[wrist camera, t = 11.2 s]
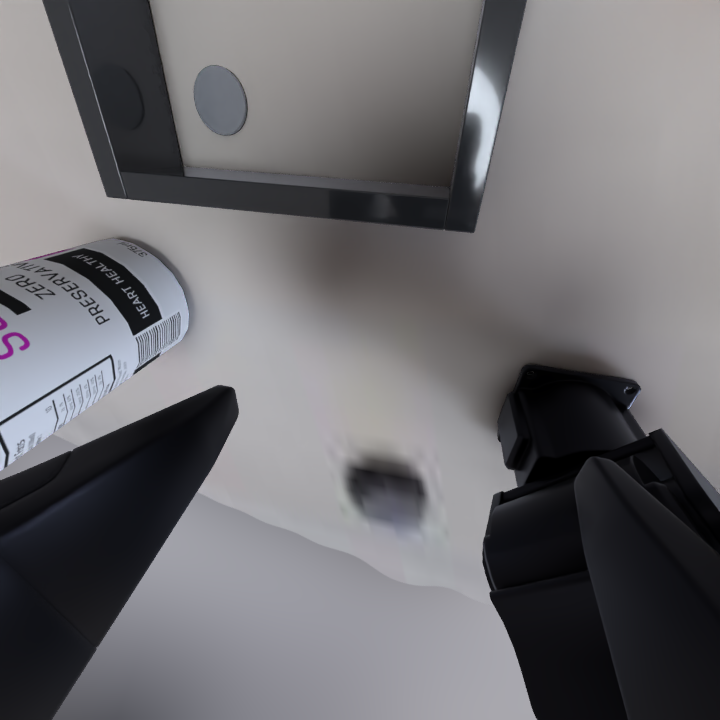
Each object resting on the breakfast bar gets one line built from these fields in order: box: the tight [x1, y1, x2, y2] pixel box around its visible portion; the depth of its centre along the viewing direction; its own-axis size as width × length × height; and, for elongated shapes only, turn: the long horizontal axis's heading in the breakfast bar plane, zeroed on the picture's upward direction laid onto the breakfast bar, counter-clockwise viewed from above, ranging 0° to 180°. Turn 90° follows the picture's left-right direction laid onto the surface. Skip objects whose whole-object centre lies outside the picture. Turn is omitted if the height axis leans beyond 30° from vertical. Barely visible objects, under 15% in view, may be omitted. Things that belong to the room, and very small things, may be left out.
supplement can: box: [0, 238, 189, 471], centre depth 19 cm, size 8×8×15 cm
